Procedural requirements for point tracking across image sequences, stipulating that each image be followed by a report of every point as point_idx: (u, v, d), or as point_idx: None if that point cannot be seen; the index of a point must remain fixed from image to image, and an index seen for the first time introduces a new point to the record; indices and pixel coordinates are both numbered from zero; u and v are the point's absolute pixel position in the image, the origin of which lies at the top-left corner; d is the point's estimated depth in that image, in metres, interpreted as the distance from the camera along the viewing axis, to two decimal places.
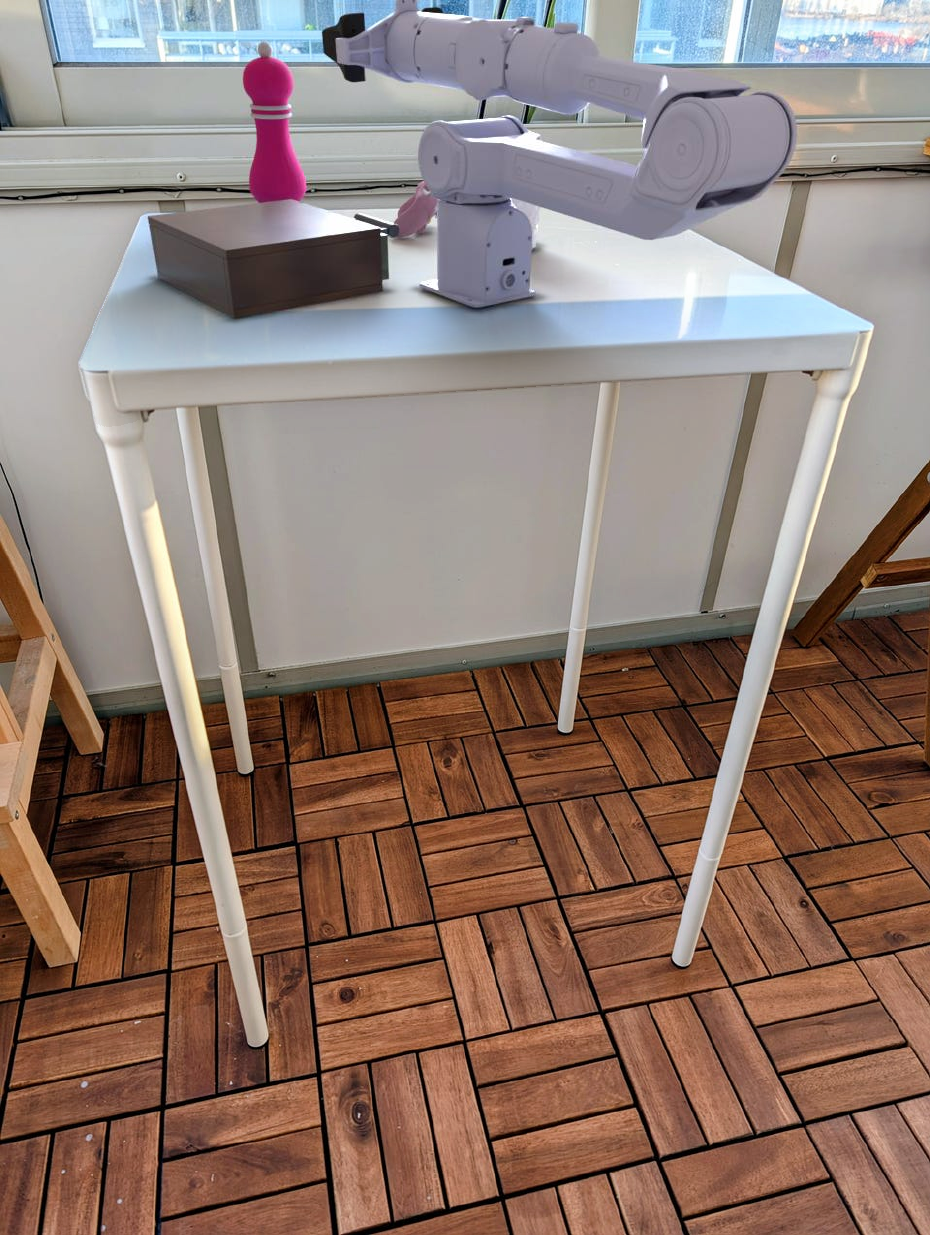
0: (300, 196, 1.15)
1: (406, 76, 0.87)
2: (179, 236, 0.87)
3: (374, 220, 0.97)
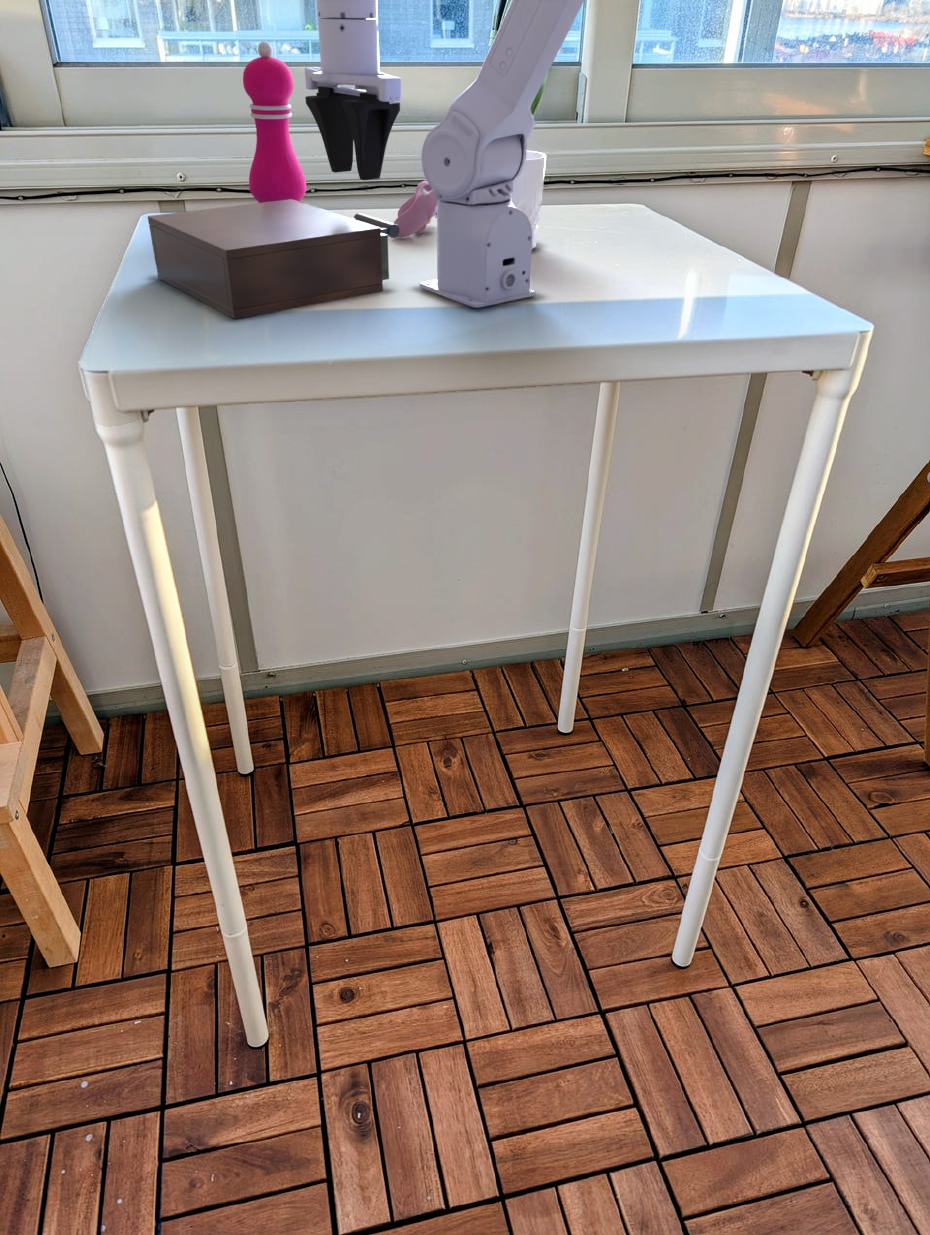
0: (300, 196, 1.15)
1: (378, 54, 0.88)
2: (179, 236, 0.87)
3: (374, 220, 0.97)
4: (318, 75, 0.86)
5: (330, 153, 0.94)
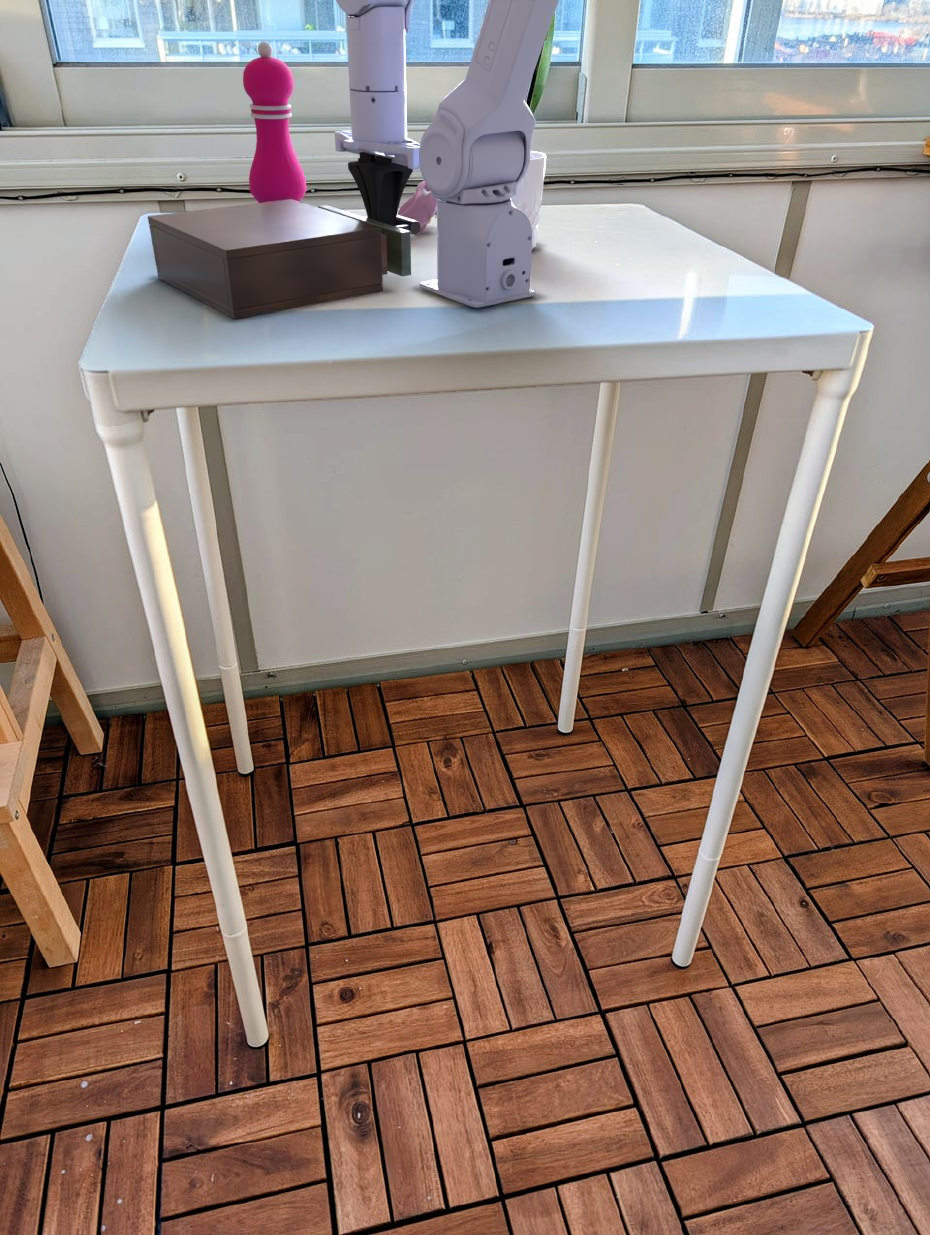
0: (300, 196, 1.15)
1: (406, 122, 0.93)
2: (179, 236, 0.87)
3: None
4: (350, 143, 0.91)
5: (371, 216, 0.97)
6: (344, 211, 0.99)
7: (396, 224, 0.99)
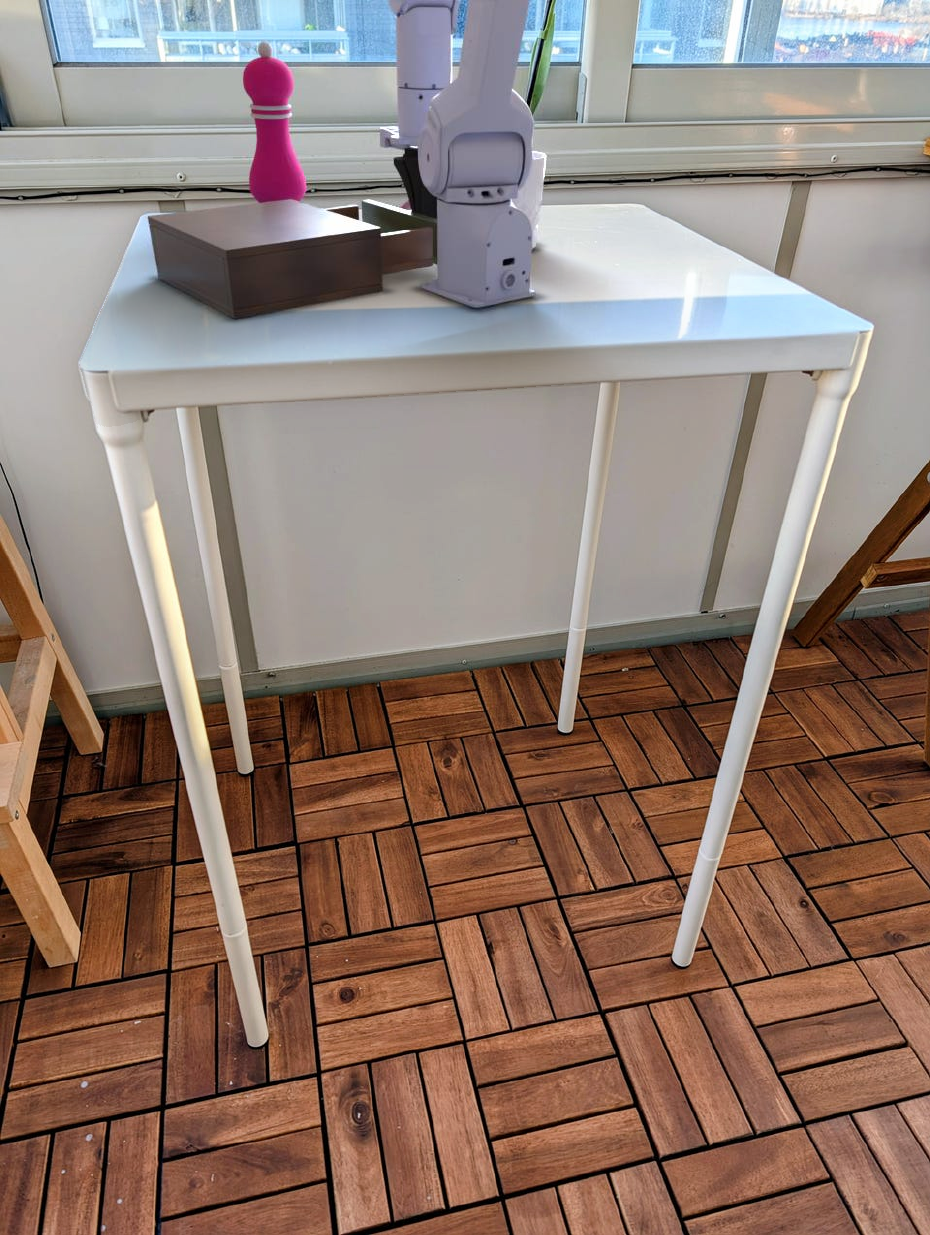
0: (300, 196, 1.15)
1: None
2: (179, 236, 0.87)
3: None
4: (397, 139, 0.94)
5: (415, 209, 1.00)
6: (388, 205, 1.02)
7: None
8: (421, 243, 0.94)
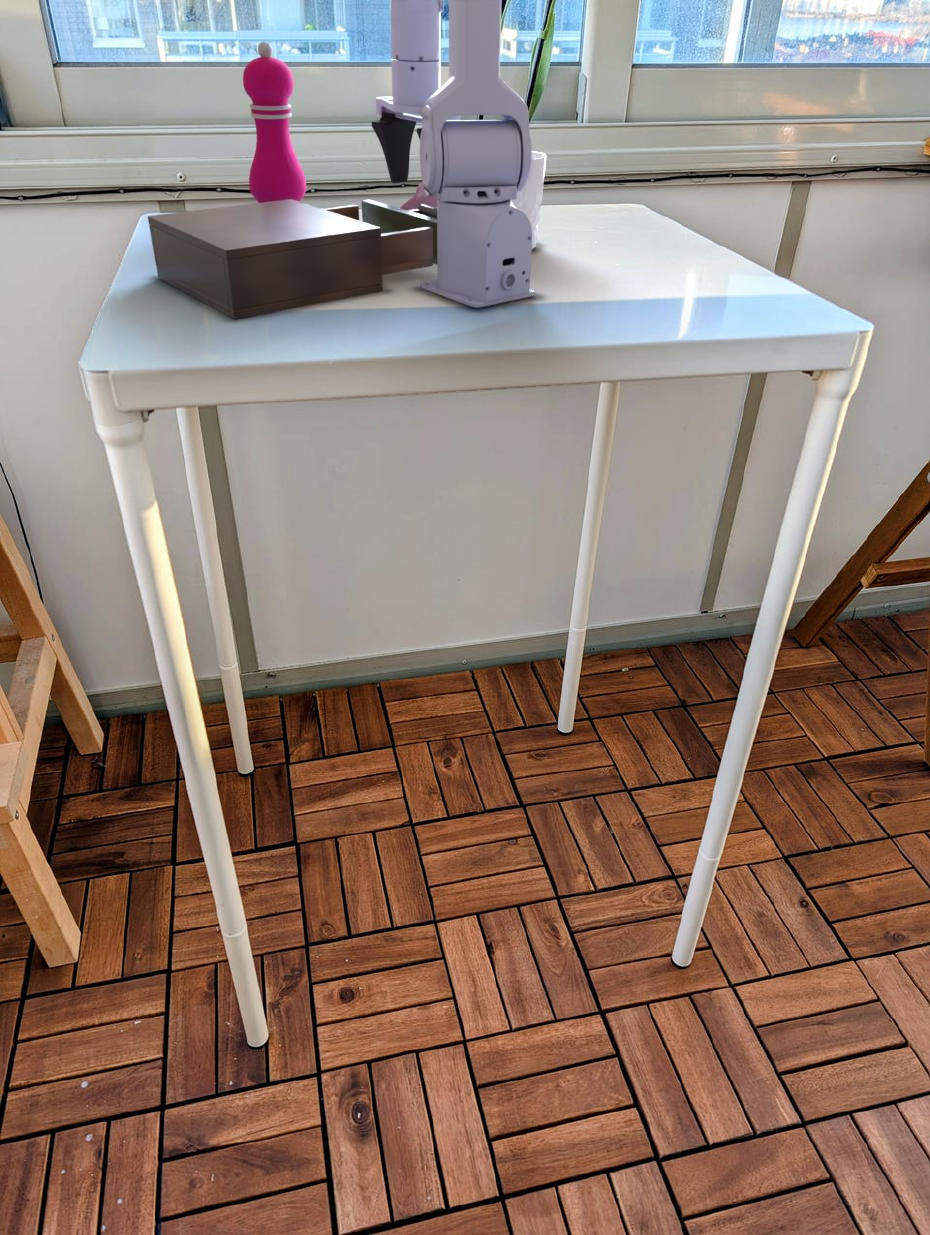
0: (300, 196, 1.15)
1: (392, 87, 1.06)
2: (179, 236, 0.87)
3: None
4: None
5: None
6: (388, 205, 1.02)
7: None
8: (421, 243, 0.94)
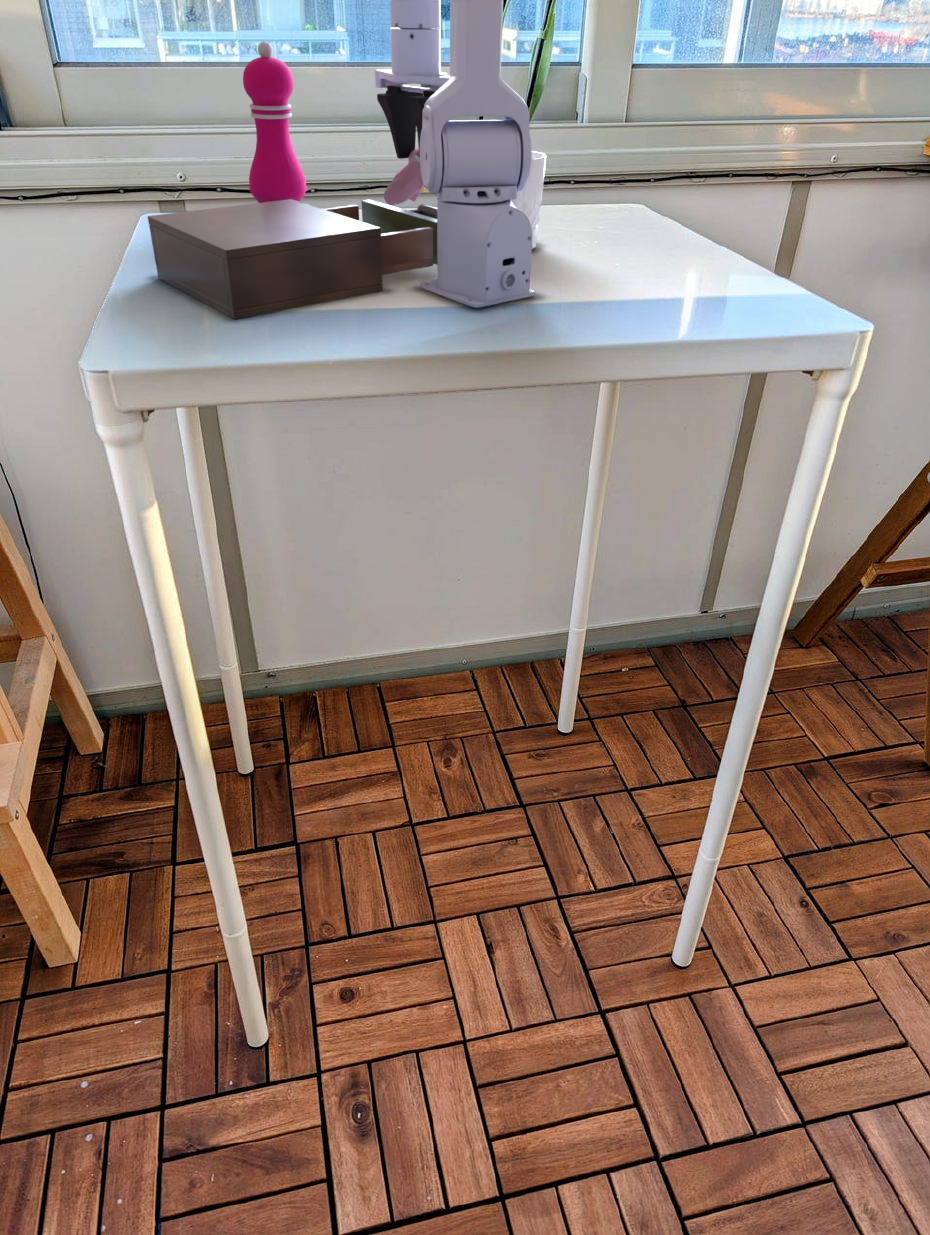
0: (300, 196, 1.15)
1: (391, 57, 1.05)
2: (179, 236, 0.87)
3: None
4: None
5: None
6: (388, 205, 1.02)
7: None
8: (421, 243, 0.94)
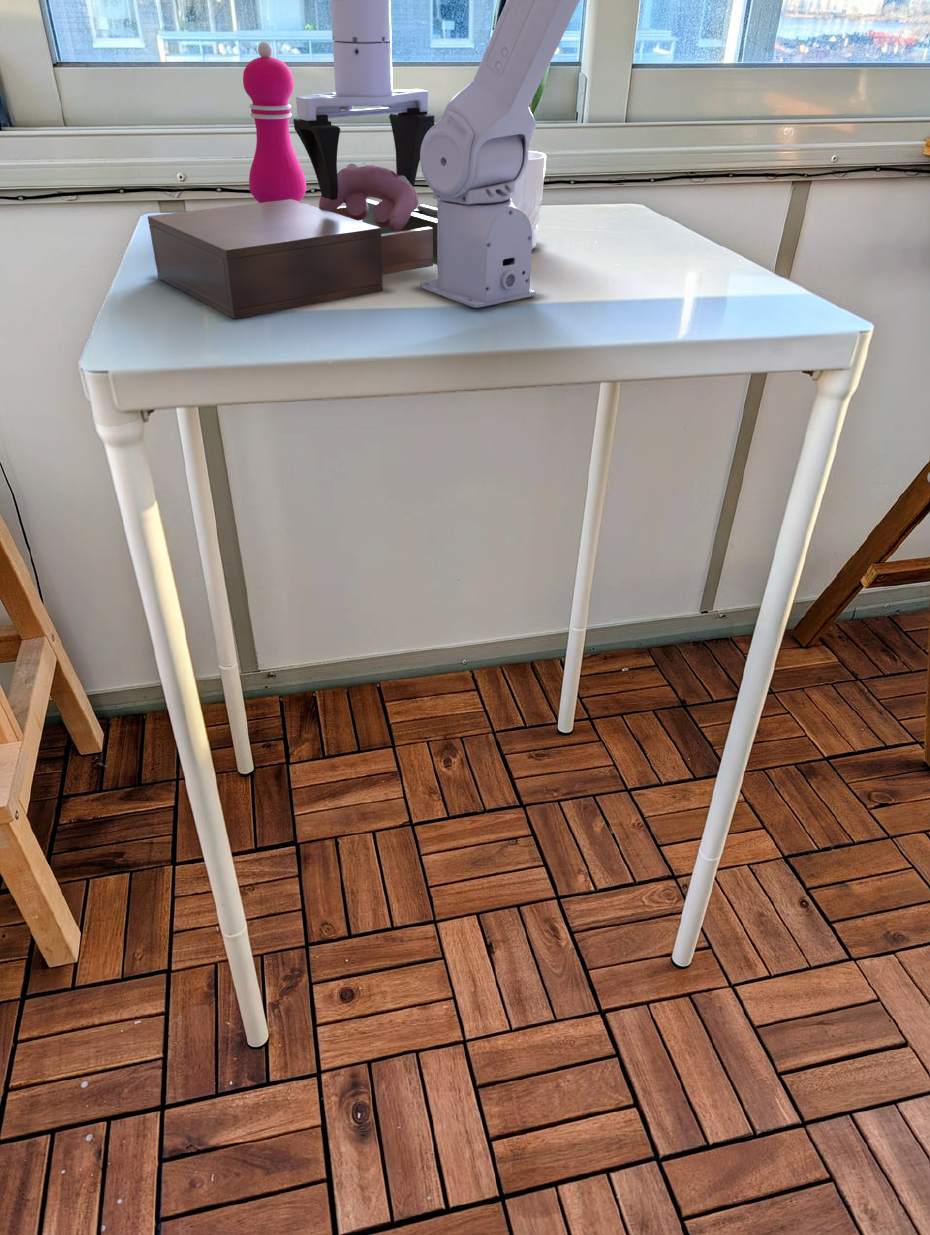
0: (300, 196, 1.15)
1: (361, 78, 0.87)
2: (179, 236, 0.87)
3: None
4: None
5: (396, 167, 0.98)
6: None
7: None
8: (421, 243, 0.94)
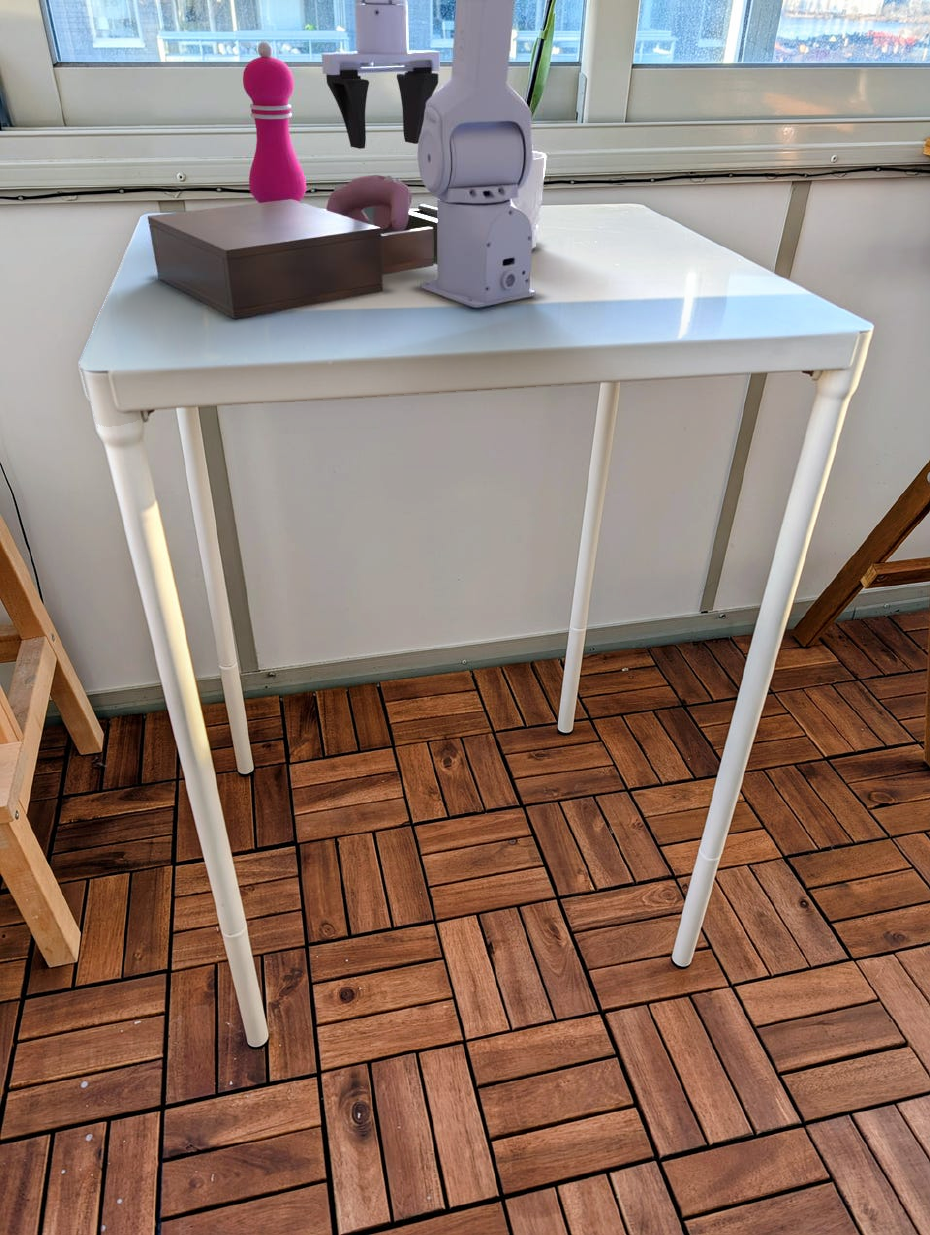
0: (300, 196, 1.15)
1: (380, 36, 0.97)
2: (179, 236, 0.87)
3: None
4: None
5: (403, 124, 1.07)
6: None
7: None
8: (422, 243, 0.94)
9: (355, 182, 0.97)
